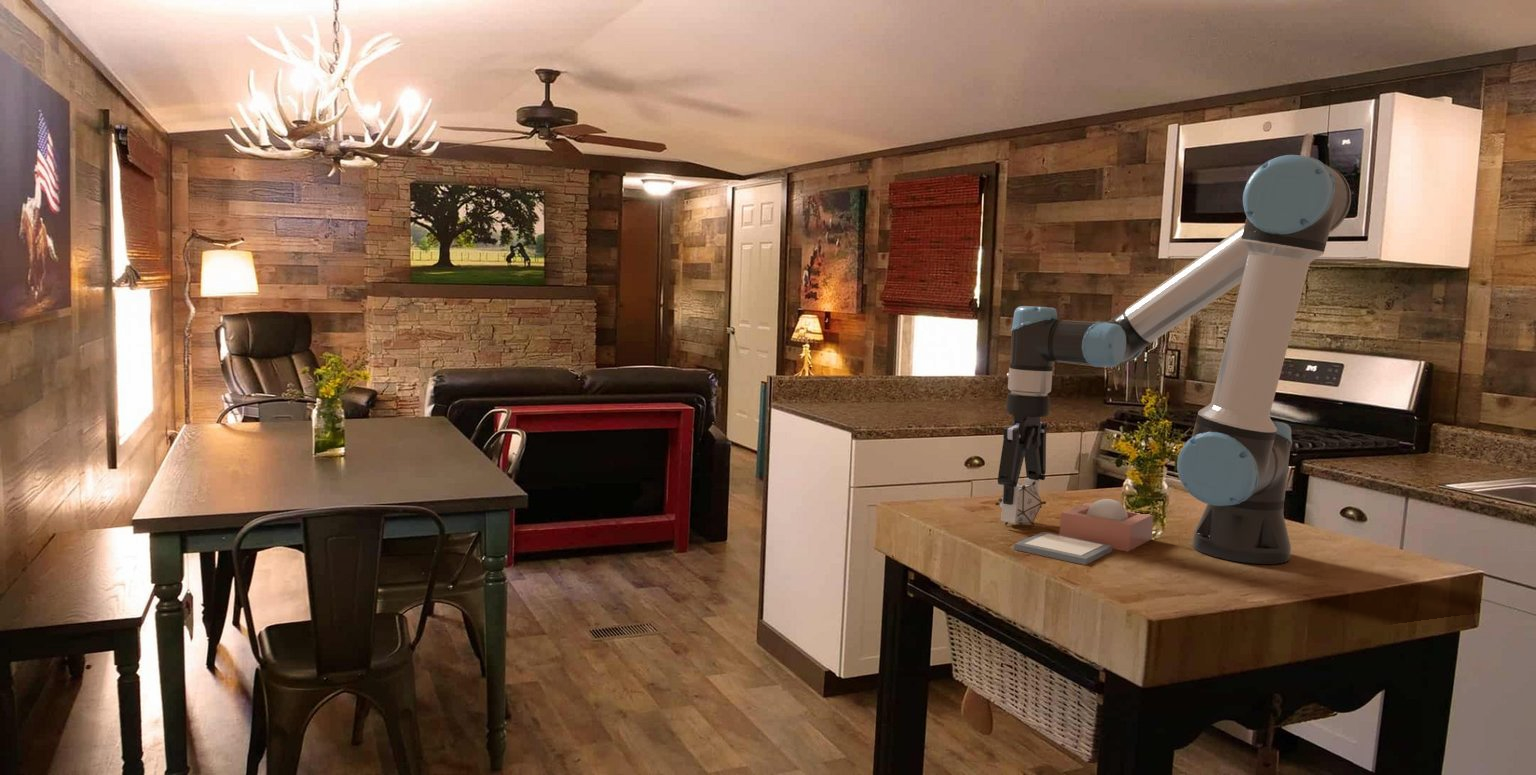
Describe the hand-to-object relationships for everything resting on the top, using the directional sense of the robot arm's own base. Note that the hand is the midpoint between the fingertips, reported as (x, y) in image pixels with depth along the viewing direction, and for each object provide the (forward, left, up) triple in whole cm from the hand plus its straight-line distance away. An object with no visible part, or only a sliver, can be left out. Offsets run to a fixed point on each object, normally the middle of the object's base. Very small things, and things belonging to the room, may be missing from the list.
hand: (1019, 517), depth 189 cm
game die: (0, 0, -2) cm, 2 cm away
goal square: (-13, +11, -1) cm, 17 cm away
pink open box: (-15, -3, -1) cm, 15 cm away
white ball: (-15, -3, -2) cm, 15 cm away
